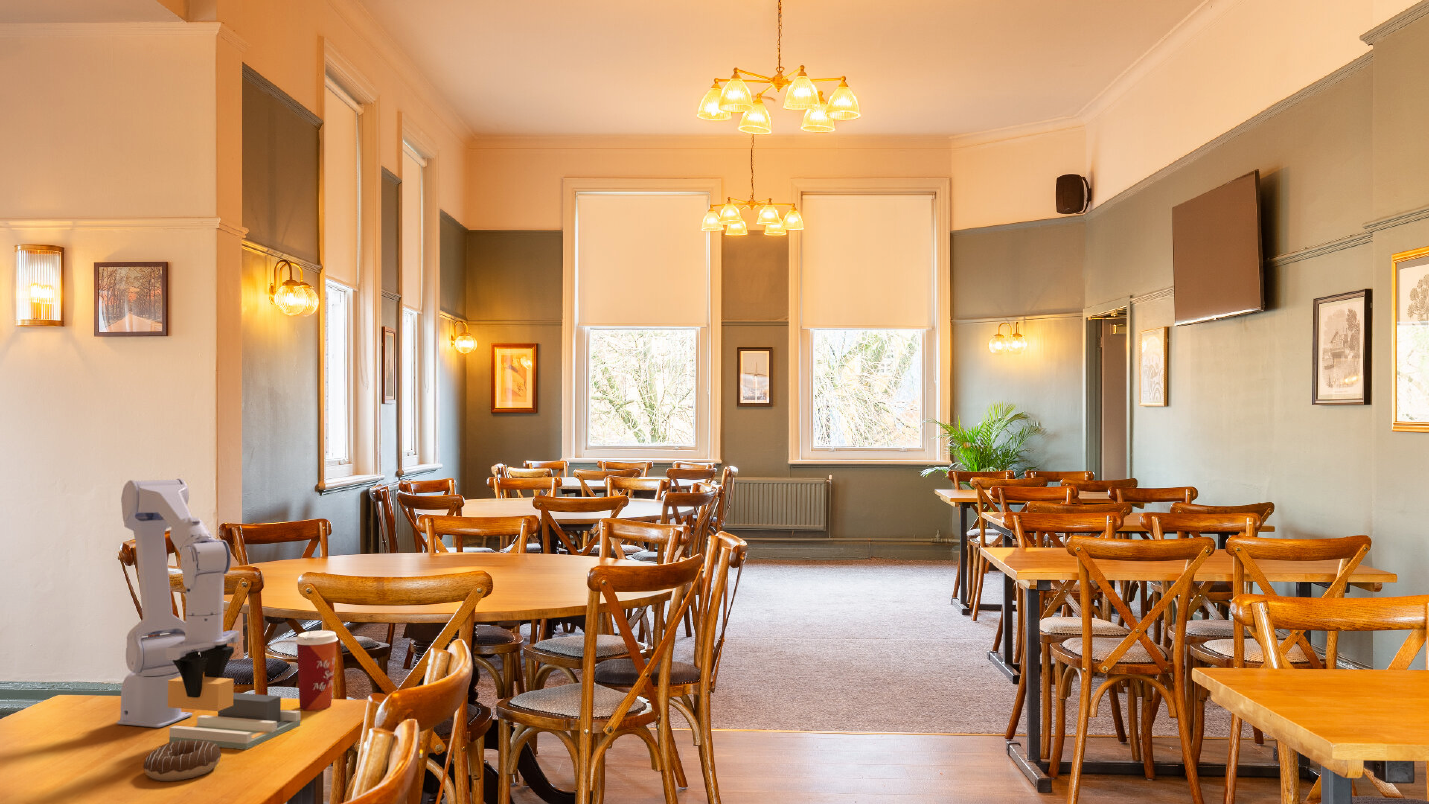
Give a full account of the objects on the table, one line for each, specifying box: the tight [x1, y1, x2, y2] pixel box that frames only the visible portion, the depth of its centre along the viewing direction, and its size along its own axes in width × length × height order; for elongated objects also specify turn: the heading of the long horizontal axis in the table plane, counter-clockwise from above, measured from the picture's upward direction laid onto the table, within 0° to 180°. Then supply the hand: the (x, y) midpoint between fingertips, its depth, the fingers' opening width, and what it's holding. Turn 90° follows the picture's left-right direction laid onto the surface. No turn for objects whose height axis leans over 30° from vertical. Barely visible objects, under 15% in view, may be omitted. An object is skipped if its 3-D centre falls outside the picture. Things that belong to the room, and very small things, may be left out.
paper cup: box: [295, 629, 339, 712], centre depth 188 cm, size 8×8×14 cm
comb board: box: [168, 709, 301, 750], centre depth 171 cm, size 15×14×2 cm
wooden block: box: [168, 676, 235, 712], centre depth 166 cm, size 10×4×4 cm, turn 76°
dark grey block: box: [217, 692, 282, 723], centre depth 174 cm, size 10×4×4 cm, turn 77°
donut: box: [142, 741, 222, 782], centre depth 152 cm, size 11×11×4 cm
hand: (202, 693), depth 166 cm, fingers closed on wooden block, 4 cm apart
